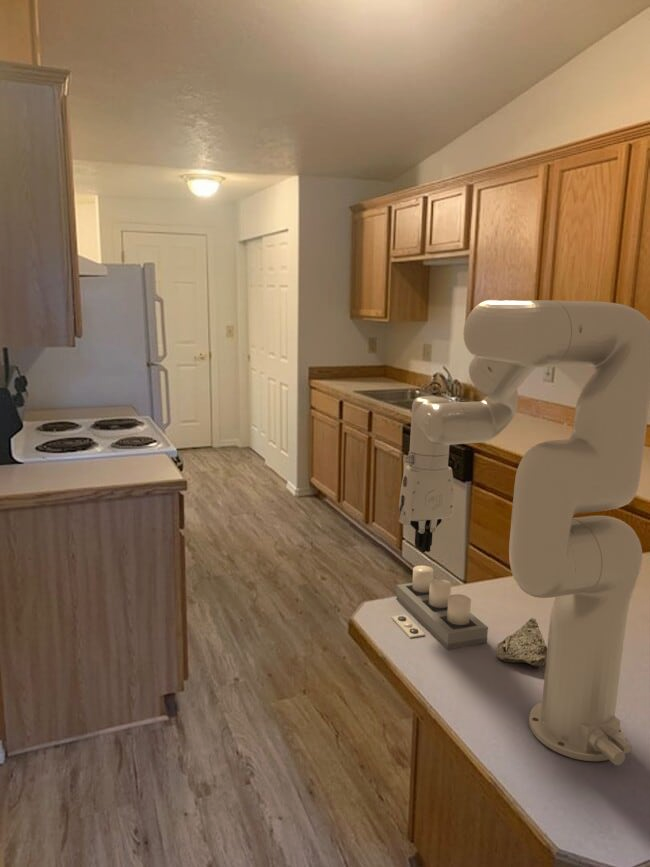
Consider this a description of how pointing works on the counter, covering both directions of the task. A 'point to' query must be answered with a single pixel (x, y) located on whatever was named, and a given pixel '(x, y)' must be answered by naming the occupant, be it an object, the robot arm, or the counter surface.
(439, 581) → the button mid
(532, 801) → the counter surface
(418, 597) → the button board
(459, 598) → the button near
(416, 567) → the button far
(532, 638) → the rock sample
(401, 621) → the card
